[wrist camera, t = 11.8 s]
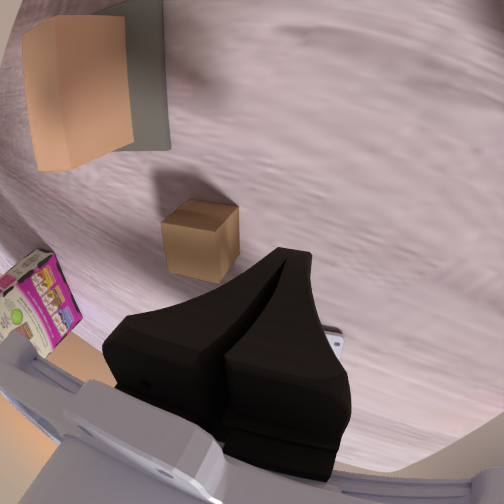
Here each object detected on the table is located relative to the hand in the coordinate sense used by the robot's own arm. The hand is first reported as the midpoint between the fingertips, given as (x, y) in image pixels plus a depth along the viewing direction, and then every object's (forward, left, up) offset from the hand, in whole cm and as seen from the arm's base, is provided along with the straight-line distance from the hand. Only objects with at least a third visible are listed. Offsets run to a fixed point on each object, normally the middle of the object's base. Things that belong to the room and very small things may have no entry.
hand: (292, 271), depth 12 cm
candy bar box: (-16, +33, -10) cm, 38 cm away
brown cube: (-4, +8, -10) cm, 13 cm away
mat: (+8, +16, -9) cm, 20 cm away
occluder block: (+8, +16, -9) cm, 20 cm away
